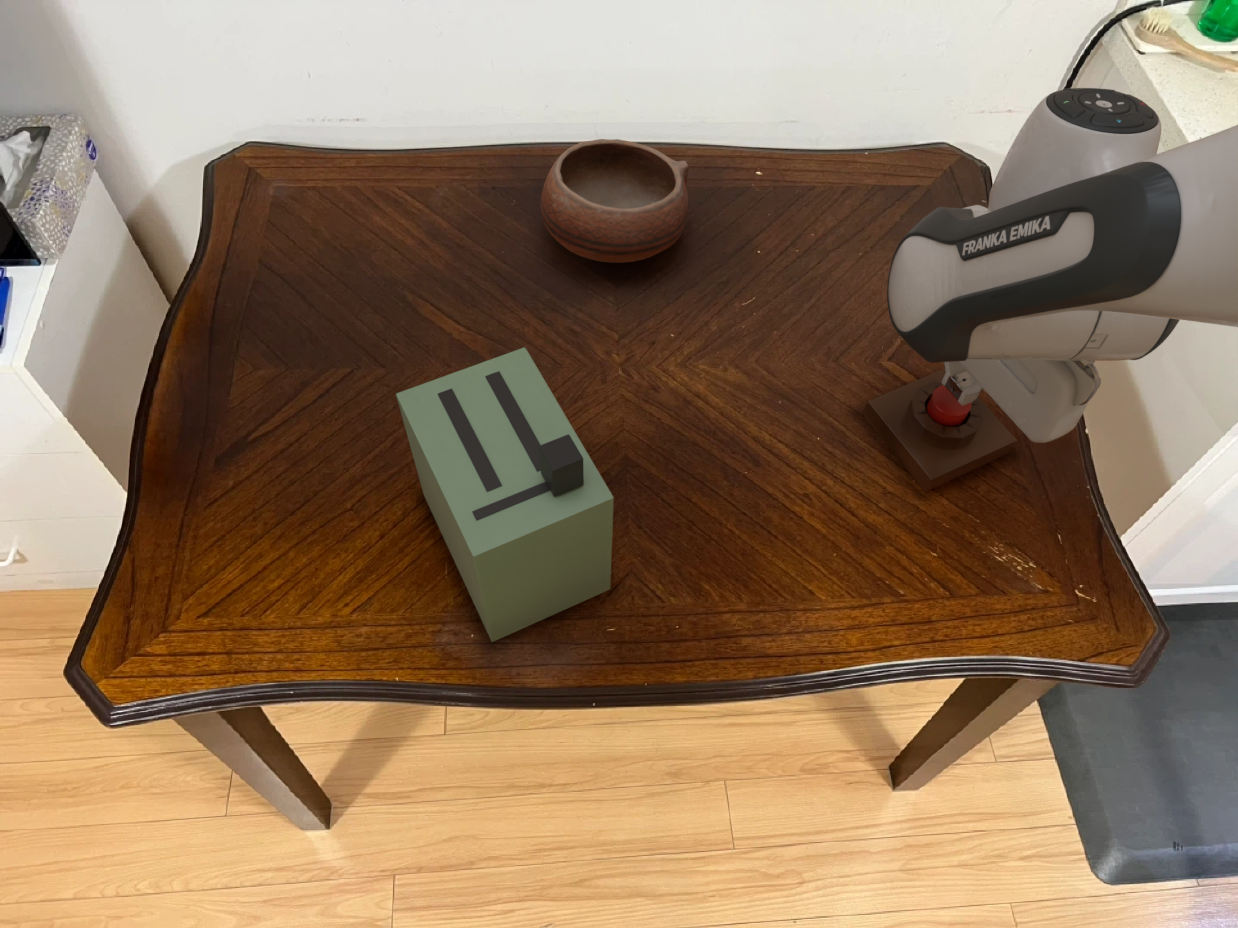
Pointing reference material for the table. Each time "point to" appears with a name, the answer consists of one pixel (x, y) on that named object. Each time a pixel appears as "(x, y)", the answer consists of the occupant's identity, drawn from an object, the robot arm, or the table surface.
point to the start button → (946, 408)
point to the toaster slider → (561, 465)
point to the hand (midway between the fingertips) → (957, 392)
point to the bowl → (615, 200)
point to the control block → (936, 434)
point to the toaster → (508, 492)
